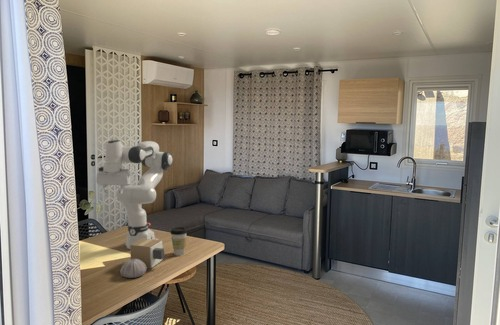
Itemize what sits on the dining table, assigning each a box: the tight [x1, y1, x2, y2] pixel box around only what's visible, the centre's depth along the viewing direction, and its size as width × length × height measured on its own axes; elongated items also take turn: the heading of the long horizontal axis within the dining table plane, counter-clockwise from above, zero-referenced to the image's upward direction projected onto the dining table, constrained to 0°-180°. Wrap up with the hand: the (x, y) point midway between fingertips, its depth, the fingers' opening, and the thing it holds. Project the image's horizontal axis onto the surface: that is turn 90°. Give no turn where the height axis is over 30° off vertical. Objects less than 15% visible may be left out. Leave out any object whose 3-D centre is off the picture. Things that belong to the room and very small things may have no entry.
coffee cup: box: [170, 226, 188, 256], centre depth 226 cm, size 10×10×15 cm
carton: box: [129, 238, 162, 269], centre depth 211 cm, size 12×12×12 cm
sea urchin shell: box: [119, 258, 148, 279], centre depth 196 cm, size 13×14×8 cm
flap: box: [150, 240, 165, 269], centre depth 208 cm, size 12×6×11 cm, turn 165°
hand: (113, 193), depth 213 cm, fingers open, 8 cm apart
